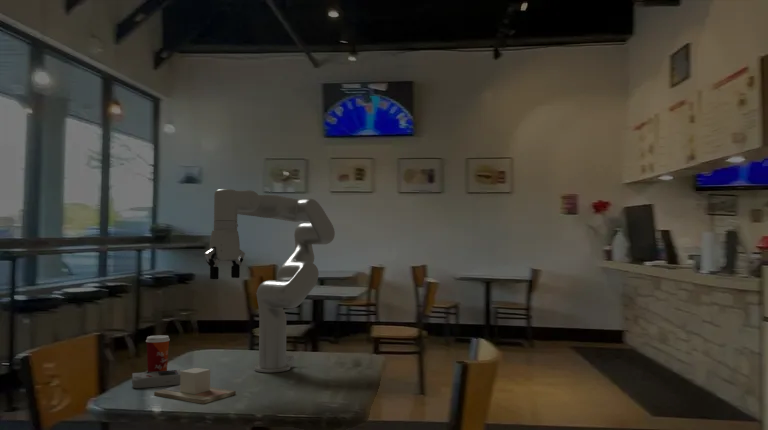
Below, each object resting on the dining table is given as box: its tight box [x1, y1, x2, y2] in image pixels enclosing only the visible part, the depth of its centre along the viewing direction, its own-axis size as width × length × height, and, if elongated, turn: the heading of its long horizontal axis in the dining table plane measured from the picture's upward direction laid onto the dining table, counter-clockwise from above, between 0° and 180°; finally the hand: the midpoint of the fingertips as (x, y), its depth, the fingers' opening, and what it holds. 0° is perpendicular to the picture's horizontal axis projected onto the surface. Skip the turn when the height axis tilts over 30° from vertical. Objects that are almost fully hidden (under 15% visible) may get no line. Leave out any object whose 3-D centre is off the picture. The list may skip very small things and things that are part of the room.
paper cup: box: [145, 334, 171, 372], centre depth 211 cm, size 8×8×14 cm
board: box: [153, 385, 237, 405], centre depth 189 cm, size 13×20×1 cm, turn 60°
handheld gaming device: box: [131, 369, 182, 389], centre depth 204 cm, size 9×15×4 cm, turn 113°
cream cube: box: [180, 367, 211, 394], centre depth 189 cm, size 6×6×6 cm
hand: (225, 278), depth 211 cm, fingers open, 9 cm apart
